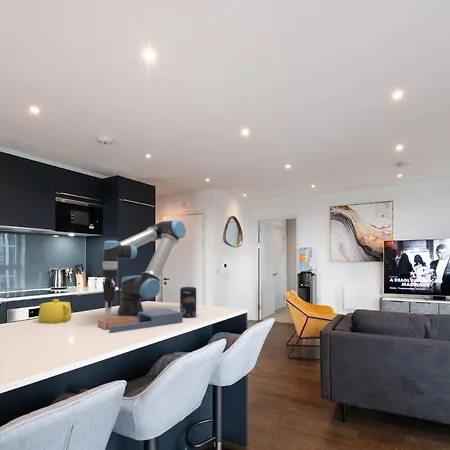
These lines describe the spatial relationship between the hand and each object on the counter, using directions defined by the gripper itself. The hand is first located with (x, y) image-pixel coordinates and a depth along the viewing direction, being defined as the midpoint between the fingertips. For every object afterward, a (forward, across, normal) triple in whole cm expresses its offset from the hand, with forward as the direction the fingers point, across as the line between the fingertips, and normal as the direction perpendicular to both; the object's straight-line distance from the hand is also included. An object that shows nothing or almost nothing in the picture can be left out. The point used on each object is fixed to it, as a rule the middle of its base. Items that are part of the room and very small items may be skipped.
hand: (108, 313), depth 185 cm
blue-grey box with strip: (+5, +17, +11) cm, 21 cm away
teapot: (+5, -24, -20) cm, 32 cm away
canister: (+4, +12, +44) cm, 45 cm away
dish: (+5, +12, 0) cm, 13 cm away
